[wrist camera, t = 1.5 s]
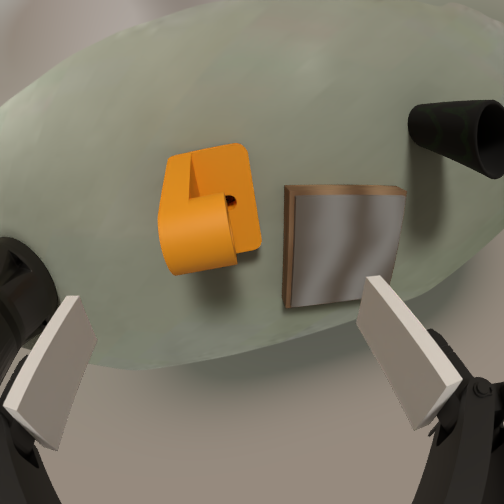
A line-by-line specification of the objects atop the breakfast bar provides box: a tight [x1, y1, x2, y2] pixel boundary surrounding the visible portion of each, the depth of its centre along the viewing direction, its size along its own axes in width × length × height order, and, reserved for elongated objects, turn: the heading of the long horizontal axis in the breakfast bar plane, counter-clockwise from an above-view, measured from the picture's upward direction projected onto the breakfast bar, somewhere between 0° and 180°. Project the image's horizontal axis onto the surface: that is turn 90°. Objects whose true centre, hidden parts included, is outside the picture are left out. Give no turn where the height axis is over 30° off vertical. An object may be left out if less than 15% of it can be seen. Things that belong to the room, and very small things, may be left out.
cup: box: [408, 100, 504, 179], centre depth 22 cm, size 8×8×12 cm
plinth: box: [282, 185, 407, 308], centre depth 31 cm, size 14×14×3 cm
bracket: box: [158, 143, 262, 276], centre depth 24 cm, size 11×7×12 cm, turn 9°
